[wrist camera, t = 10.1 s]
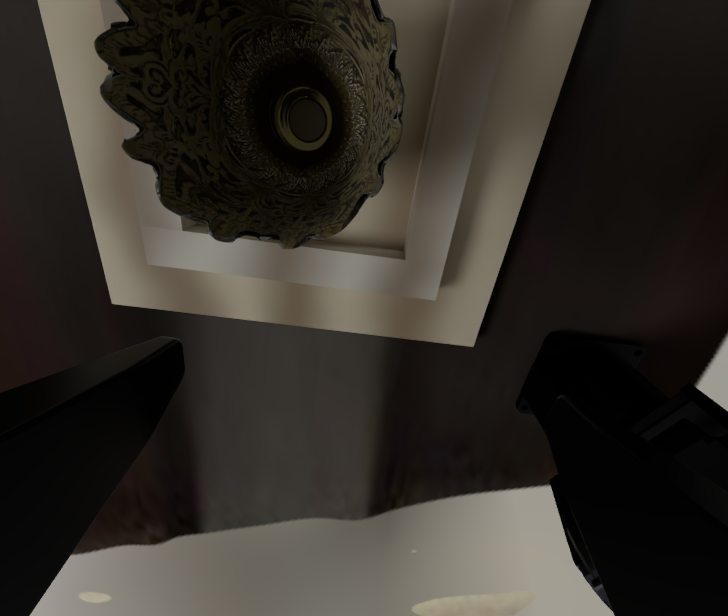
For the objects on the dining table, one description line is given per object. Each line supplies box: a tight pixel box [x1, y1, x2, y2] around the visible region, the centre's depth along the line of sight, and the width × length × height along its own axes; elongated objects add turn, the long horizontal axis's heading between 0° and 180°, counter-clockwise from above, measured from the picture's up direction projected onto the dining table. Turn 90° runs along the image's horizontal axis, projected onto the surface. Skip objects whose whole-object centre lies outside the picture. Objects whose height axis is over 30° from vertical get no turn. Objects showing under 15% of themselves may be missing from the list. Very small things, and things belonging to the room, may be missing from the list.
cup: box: [94, 0, 405, 249], centre depth 11 cm, size 8×7×8 cm
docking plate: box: [38, 0, 591, 347], centre depth 15 cm, size 22×22×2 cm
